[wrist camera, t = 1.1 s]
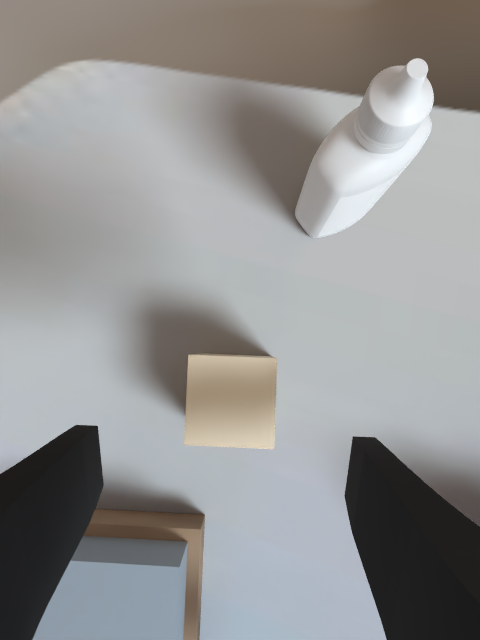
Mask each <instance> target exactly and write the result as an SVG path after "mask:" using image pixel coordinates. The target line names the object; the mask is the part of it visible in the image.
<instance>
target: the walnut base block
mask: <svg viewBox="0 0 480 640" xmlns="http://www.w3.org/2000/svg"><path fill="white" fill-rule="evenodd" d="M204 524H205V515H204V514H185V513H165V512H146V511H127V510H108V509H95V511H94V513H93V516H92V518H91V521H90V523H89V525H88V527H87V529H86V531H85V533H84V535H83V536H96V537H113V538H131V539H148V540H166V541H183V542H188V550H187V572H186V593H185V615H184V636H183V640H199V636H200V614H201V591H202V569H203V547H204Z"/></svg>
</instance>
